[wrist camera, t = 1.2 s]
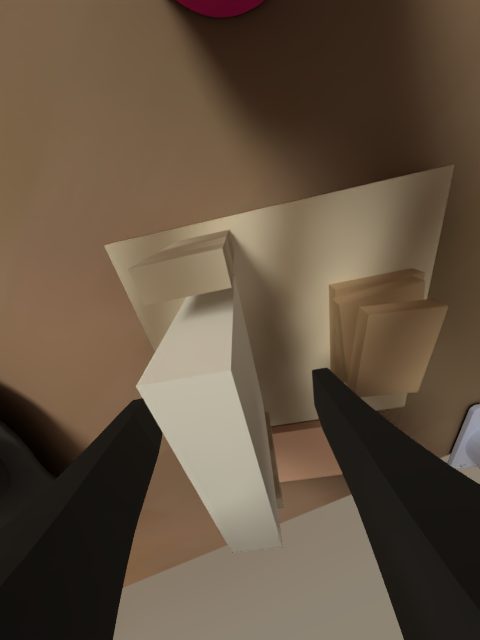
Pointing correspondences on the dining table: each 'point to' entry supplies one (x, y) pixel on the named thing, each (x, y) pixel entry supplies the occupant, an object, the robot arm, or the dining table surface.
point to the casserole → (18, 475)
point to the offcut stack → (383, 332)
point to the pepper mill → (220, 6)
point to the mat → (303, 452)
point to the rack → (289, 275)
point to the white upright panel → (216, 416)
